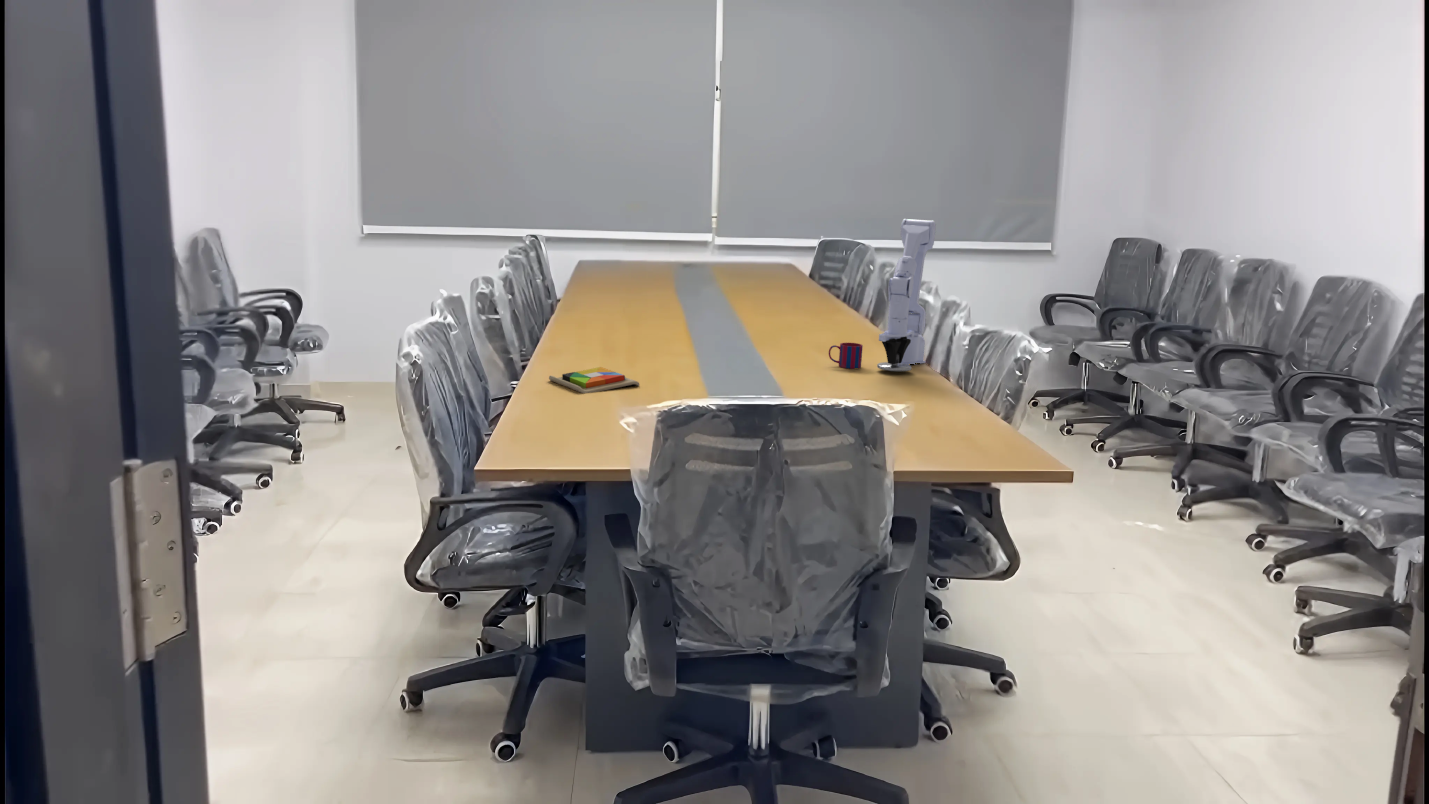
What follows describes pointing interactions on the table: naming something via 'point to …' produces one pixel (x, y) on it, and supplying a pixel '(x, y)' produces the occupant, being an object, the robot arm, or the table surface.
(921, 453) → the table surface
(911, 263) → the robot arm
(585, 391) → the wooden puzzle
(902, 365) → the lid
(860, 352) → the mug
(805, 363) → the table surface
